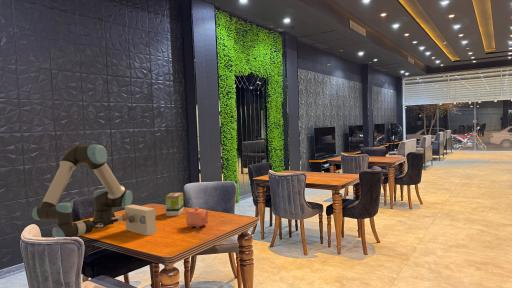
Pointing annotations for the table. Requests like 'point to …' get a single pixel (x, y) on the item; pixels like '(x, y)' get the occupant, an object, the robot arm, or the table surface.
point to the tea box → (174, 204)
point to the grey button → (131, 219)
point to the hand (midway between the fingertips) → (121, 218)
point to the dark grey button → (142, 219)
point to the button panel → (137, 212)
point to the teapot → (196, 217)
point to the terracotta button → (124, 217)
